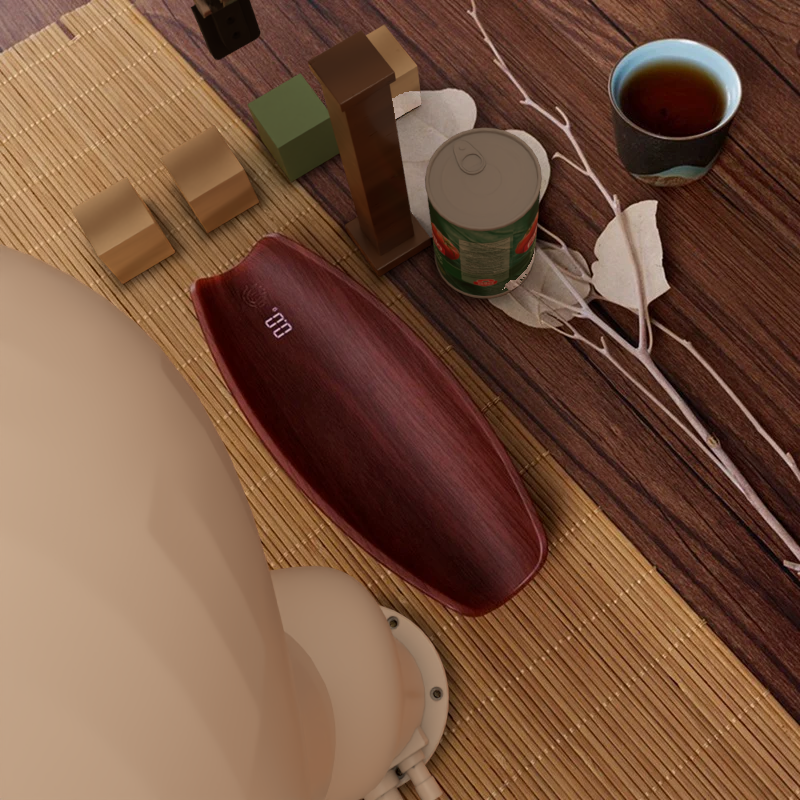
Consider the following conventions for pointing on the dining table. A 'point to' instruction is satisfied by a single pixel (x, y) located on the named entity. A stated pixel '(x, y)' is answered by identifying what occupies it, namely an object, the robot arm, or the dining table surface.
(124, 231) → the line block
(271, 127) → the green block
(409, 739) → the robot arm
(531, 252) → the canned tomato
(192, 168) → the line block
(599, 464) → the dining table surface
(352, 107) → the stand
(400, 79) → the line block
